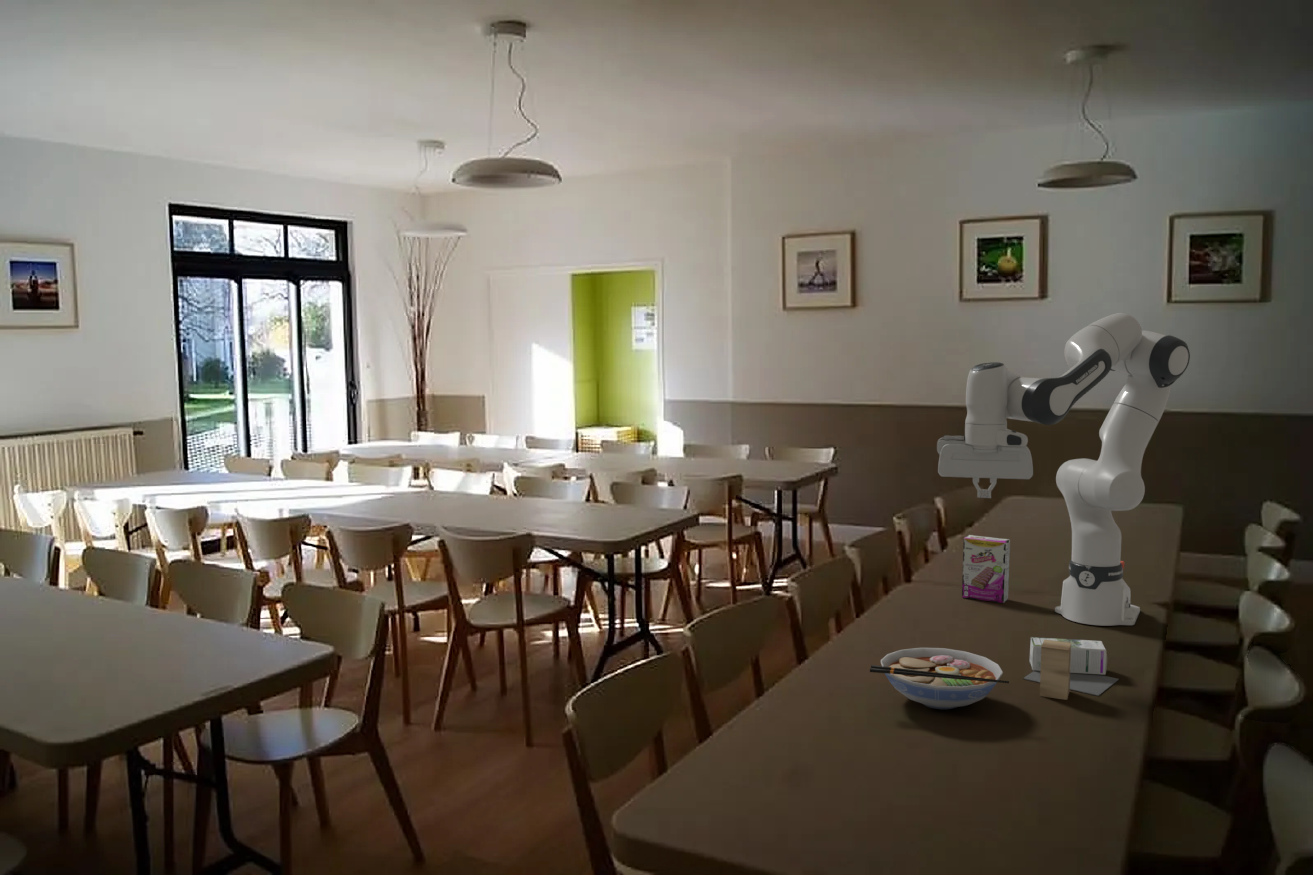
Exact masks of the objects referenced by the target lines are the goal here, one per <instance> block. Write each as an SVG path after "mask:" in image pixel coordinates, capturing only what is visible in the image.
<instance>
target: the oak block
mask: <svg viewBox="0 0 1313 875" xmlns="http://www.w3.org/2000/svg"><path fill="white" fill-rule="evenodd" d="M1070 664H1071V643H1069V642H1061V641H1053V640H1045V639H1044V641H1043V644H1042V646H1041V674H1040V683H1039V696H1040V697H1045V698H1053V699H1058V700H1064V701H1065V700H1066V701H1067V700H1068V699H1069V695H1070V692H1071V690H1070Z"/></svg>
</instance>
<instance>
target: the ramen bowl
mask: <svg viewBox="0 0 1313 875" xmlns="http://www.w3.org/2000/svg"><path fill="white" fill-rule="evenodd" d="M880 664H881V665H874V664H871V665H870V667H869V673H877V674H885V677H886V678H887V680H888V682H889V683H890V684H891V685H892V686H893V687H894V689H895V690H896V691H898V692H899V693H900V694H901V695H903V696H905V697H906V698H907V699H908V700H911V701H914V702H916V703H919V704H922V705H923V706H925V707H928V708H931V709H937V710H953V709H956V708H958V707H960V708H961V707H966V706H969V705H972V704H974V703H977V702H979V701H981V700H984V699H985V697H986V696H988V695H989V694H990V692H991V691H992V690H993V689H994V687H995V686H996V685H997V683H1001V684H1002V683H1003V684H1009V683H1010V681H1009V680H1000V678H1001V677H1002V676H1003V673H1004V671H1003V670H1002V668H1001V666H1000V665H999V664H998V663H996V662H994V661H993V660H992V659H990V658H987V657H986V656H983V655H980V654H975V653H973V652H972V653H971V652H969V651H965V650H957V649H952V648H944V647H914V648H913V647H912V648H906V649H904V648H903V649H899V650H896V651H894V652H890V653H887V654H886V655H885V656H884V657H882V658H881V659H880Z"/></svg>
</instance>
